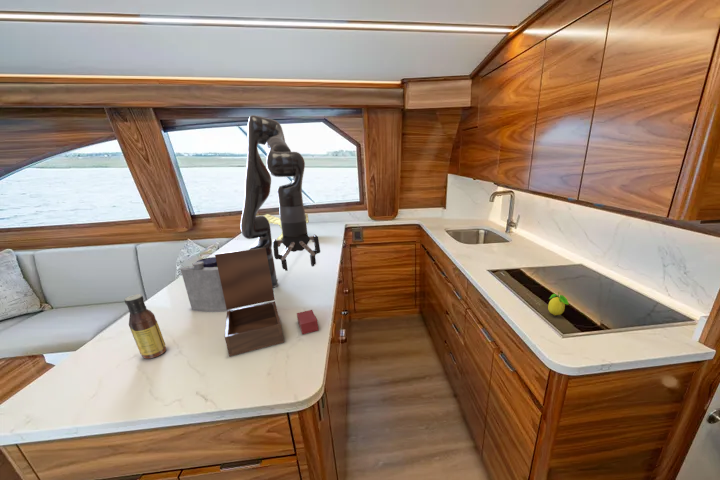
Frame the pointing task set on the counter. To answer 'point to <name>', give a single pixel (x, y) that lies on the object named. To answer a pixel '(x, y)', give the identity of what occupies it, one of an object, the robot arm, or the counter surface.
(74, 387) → the counter surface
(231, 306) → the chest lid
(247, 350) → the chest
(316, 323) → the book
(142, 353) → the sauce bottle
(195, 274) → the hip flask
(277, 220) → the slatted curved stool
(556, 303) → the lemon
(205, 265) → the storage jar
